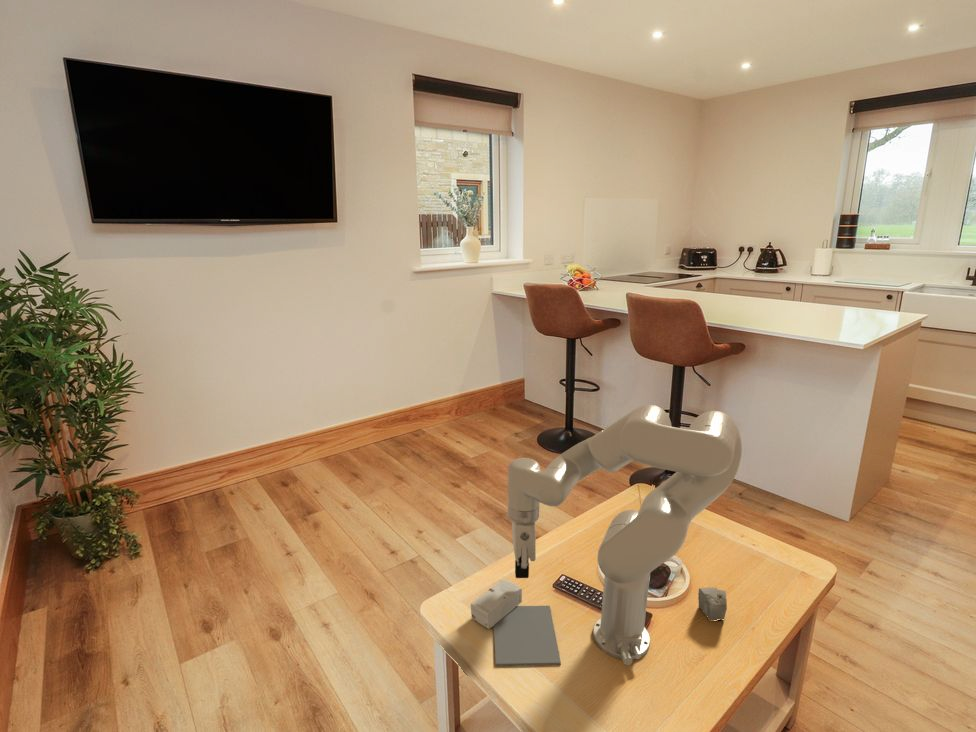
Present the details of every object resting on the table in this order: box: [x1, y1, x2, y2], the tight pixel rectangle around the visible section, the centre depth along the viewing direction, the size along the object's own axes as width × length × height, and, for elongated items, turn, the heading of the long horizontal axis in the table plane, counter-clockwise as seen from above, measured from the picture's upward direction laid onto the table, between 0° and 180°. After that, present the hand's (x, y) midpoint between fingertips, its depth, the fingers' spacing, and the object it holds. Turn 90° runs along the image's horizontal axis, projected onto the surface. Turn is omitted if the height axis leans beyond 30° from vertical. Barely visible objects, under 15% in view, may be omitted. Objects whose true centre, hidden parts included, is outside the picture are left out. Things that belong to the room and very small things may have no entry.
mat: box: [493, 605, 562, 667], centre depth 120 cm, size 17×14×1 cm
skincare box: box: [470, 578, 523, 630], centre depth 127 cm, size 6×4×12 cm
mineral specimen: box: [697, 586, 728, 621], centre depth 125 cm, size 7×9×8 cm
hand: (521, 575), depth 128 cm, fingers closed
